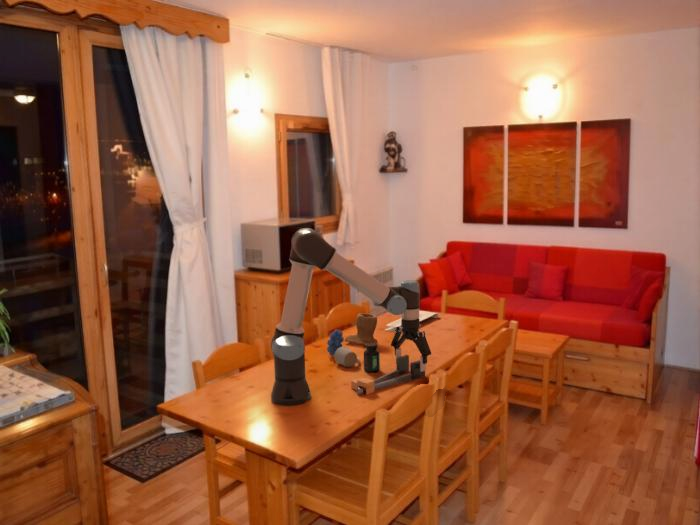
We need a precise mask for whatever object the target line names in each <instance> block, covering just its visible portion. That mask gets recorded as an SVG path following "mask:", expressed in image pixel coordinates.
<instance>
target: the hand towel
mask: <svg viewBox="0 0 700 525" xmlns="http://www.w3.org/2000/svg"><path fill="white" fill-rule="evenodd" d="M439 316H440V315H439V313H438V312H433V311H432V312H431V311H424V310H419V319H420V322H422V321H425V320H427V319H429V318H435V319H437V318H439ZM401 319H402V317H400V318H399V319H396V320H394V321H391V322H389V323H387V324H385V326H386V327H387V328H385V329H384V331H385V332H390V331H391V332H390V333H394V334H395V333H396V331H395V330H396V327H398V326H401ZM421 326H422V324H420V326H419V327H421ZM392 331H393V332H392ZM401 335H403V332H402V334H401Z"/></svg>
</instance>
